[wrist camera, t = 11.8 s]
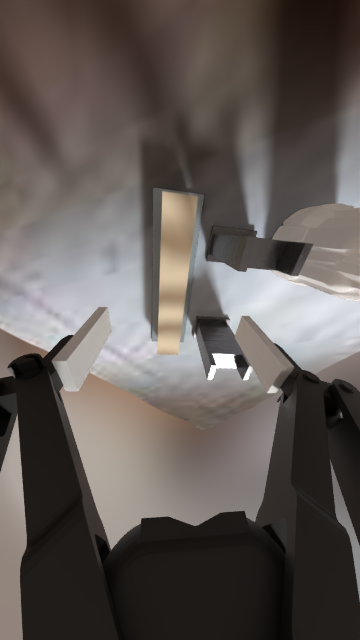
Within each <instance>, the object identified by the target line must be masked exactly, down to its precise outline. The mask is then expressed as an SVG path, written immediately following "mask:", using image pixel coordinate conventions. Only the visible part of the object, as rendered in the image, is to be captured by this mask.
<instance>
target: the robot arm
mask: <svg viewBox="0 0 360 640" xmlns="http://www.w3.org/2000/svg"><path fill="white" fill-rule="evenodd" d="M111 332H112V331H111V325H110V319H109V312H108V308H107V307H99V308H98V309H97V310H96V311H95V312H94V313H93V314H92V316H91V317H90V318H89V319H88V320H87V321H86V322H85V323H84V325H83V326H82V327H81V328H80V329H79V330H78V331H77V333H76V334H75V335H68V336H66V337H65V338H63V339H61V340H60V341H59V342H58V344H57V345H56V346H55V347H54V348H53V349H52V350H51V351H50V352H49V353H48V354H47V355H46V356H45V357H44V358H43V359H42V357H41V355H39V354H35V353H34V354H27V355H23V356H21V357H18V358H17V359H15V360H14V361H12V362H11V363H10V364H9V366H8V370H9V371H10V373H11V374H12V375H13V376H10V377H5V378H0V471H1V467H2V464H3V461H4V457H5V454H6V451H7V447H8V444H9V440H10V437H11V434H12V430H13V427H14V423H15V420H16V416H17V413H18V425H19V438H20V452H21V464H22V478H23V491H24V504H25V517H26V531H27V547H26V550H25V553H24V555H23V557H22V562H21V567H20V588H21V608H22V629H23V640H360V602H359V594H358V587H357V580H356V573H355V567H354V560H353V553H352V546H351V542H350V538H349V535H348V533H347V531H346V529H345V528H344V527H343V526H342V525H341V524H340V523H339V522H338V520H337V518H336V514H335V504H334V494H333V485H332V475H331V465H330V460H331V463H332V466H333V469H334V472H335V475H336V477H337V481H338V483H339V486H340V489H341V492H342V495H343V498H344V501H345V504H346V507H347V510H348V513H349V516H350V518H351V521H352V524H353V527H354V530H355V533H356V536H357V539H358V542H359V545H360V392H359V391H358V390H357V389H356V388H355V387H354V386H353V385H351V384H349V383H348V382H346V381H343V380H339V379H335V380H334V381H333V382H332V383H327V382H324V381H321V380H320V379H319V378H318V377H317V376H316V375H314V374H313V373H311V372H308V371H306V370H302V369H301V368H300V367H299V366H298V365H297V364H296V363H295V362H294V361H293V360H292V358H291V357H289V355H288V354H287V353H286V352H285V351H284V350H283V349H282V348H281V347H280V346H278V345H277V344H276V343H273V342H272V341H271V340H270V339H269V338H268V337H267V336H266V334H265V333H264V332H263V331H262V330H261V329H260V328H259V327H258V325H257V324H256V323H255V322H254V321H253V320H252V319H251V318H250V316H242V318H241V320H240V323H239V326H238V329H237V332H236V334H235V339H236V341H237V343H238V344H239V346H240V348H241V349H242V351H243V353H244V354H245V356H246V358H247V360H248V361H249V363H250V365H251V366H252V368H253V370H254V372H255V373H256V375H257V377H258V378H259V380H260V382H261V384H262V385H263V387H264V389H265V390H266V392H267V393H277V392H278V390H279V389H280V388H281V389H282V391H283V393H282V395H281V396H280V397H279V399H278V400H277V402H279V401H280V406H279V412H278V418H277V424H276V429H275V435H274V441H273V447H272V452H271V458H270V464H269V471H268V476H267V482H266V488H265V493H264V499H263V502H262V504H261V507H260V509H259V511H258V514H257V517H256V521H255V522H253V521H251V520H250V519H248V518H246V515H245V511H239V512H238V511H237V512H224V513H219V514H218V515H216V516H214V517H212V518H210V519H209V520H207V521H205V522H203V523H202V524H200V525H198V526H193V525H190V524H187V523H184V522H181V521H179V520H176V519H173V518H171V517H156V518H142V519H141V524H139V525H138V526H136V527H134V528H133V529H132V530H130V531H129V532H127V534H125V535H124V536H123V537H122V538H121V539H120V540H119V541H118V543H117V544H116V545H115V546H114V548H113V549H112V550H111V548H110V545H109V542H108V539H107V536H106V533H105V530H104V527H103V524H102V521H101V519H100V517H99V514H98V512H97V509H96V506H95V503H94V500H93V496H92V493H91V490H90V486H89V483H88V480H87V477H86V474H85V470H84V467H83V464H82V461H81V458H80V454H79V451H78V449H77V445H76V442H75V439H74V435H73V432H72V429H71V426H70V423H69V419H68V416H67V413H66V410H65V407H64V403H63V400H62V397H61V394H60V392H59V391H60V389H61V388H62V387H63V386H64V389H65V391H79V389H80V387H81V386H82V384H83V382H84V380H85V378H86V377H87V375H88V373H89V371H90V370H91V368H92V366H93V364H94V362H95V361H96V359H97V357H98V355H99V353H100V352H101V350H102V348H103V346H104V344H105V343H106V341H107V339H108V337H109V335H110V334H111ZM341 412H342V415H343V418H341V416H340V413H341Z"/></svg>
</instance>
